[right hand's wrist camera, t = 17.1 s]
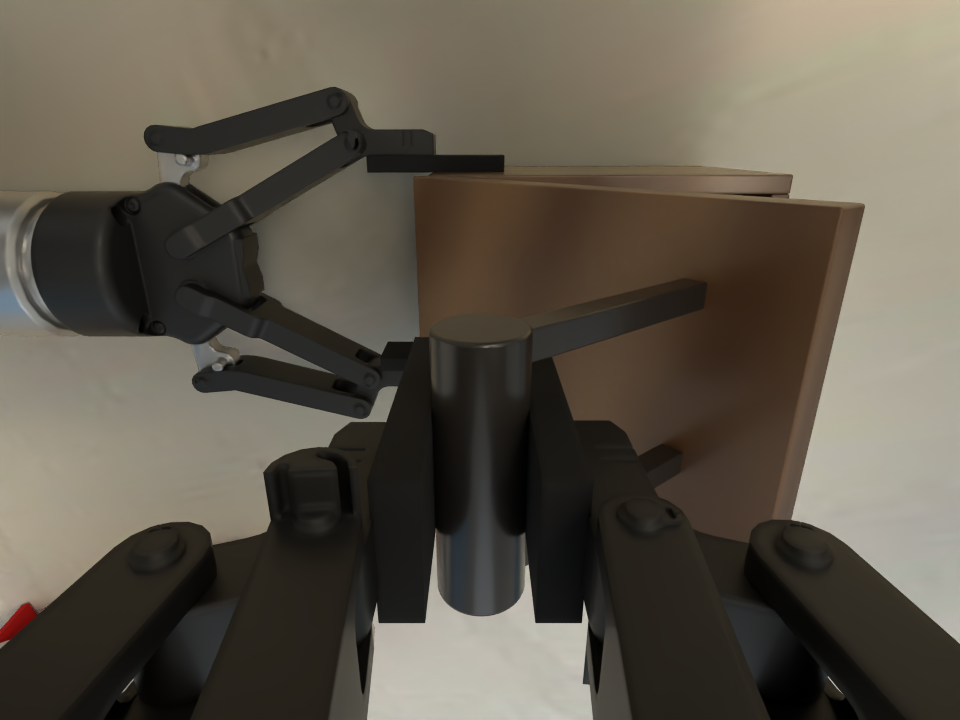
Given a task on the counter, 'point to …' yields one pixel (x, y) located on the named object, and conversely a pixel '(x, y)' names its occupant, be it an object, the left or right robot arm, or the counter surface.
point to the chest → (649, 178)
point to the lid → (621, 349)
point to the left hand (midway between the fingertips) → (501, 265)
